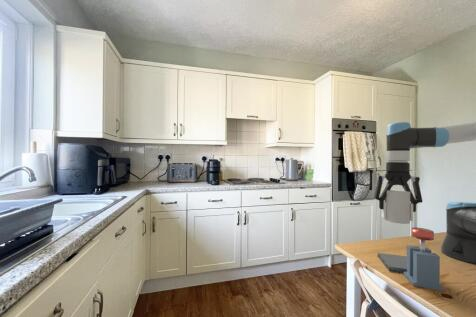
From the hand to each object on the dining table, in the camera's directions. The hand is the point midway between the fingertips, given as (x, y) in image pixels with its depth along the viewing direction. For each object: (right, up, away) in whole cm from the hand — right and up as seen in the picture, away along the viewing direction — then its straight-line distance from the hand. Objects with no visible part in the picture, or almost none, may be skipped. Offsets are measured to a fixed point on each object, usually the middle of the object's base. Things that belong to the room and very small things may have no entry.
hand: (396, 218), depth 84 cm
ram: (-1, -10, -13) cm, 17 cm away
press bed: (0, -17, -2) cm, 18 cm away
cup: (0, -1, 0) cm, 1 cm away
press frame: (-2, -17, -13) cm, 22 cm away
